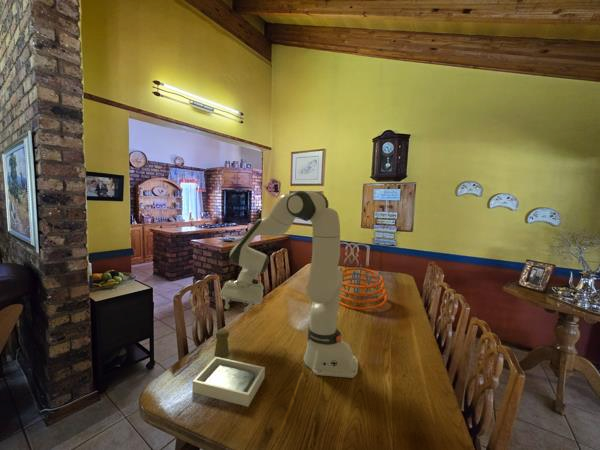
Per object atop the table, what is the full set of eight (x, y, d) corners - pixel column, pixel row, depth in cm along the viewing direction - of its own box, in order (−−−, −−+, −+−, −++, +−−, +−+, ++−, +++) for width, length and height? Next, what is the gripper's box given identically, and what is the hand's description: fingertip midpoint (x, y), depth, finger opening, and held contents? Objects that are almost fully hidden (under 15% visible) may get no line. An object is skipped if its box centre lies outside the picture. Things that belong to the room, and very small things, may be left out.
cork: (223, 350, 112) (224, 325, 111) (232, 355, 108) (233, 330, 107) (211, 356, 107) (211, 330, 106) (219, 362, 104) (220, 336, 102)
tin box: (254, 379, 94) (254, 372, 93) (242, 399, 84) (242, 392, 84) (219, 371, 97) (219, 365, 97) (203, 390, 87) (204, 383, 87)
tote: (264, 380, 95) (264, 367, 95) (248, 409, 82) (248, 394, 81) (215, 368, 100) (215, 356, 99) (192, 395, 86) (192, 381, 86)
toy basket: (394, 315, 160) (396, 278, 155) (337, 315, 160) (338, 279, 156) (378, 290, 194) (379, 260, 189) (331, 291, 194) (331, 260, 190)
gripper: (224, 276, 126) (212, 303, 117) (263, 282, 121) (254, 310, 113) (228, 282, 130) (217, 309, 122) (266, 288, 126) (258, 316, 117)
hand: (235, 310), depth 117 cm, fingers open, 8 cm apart
